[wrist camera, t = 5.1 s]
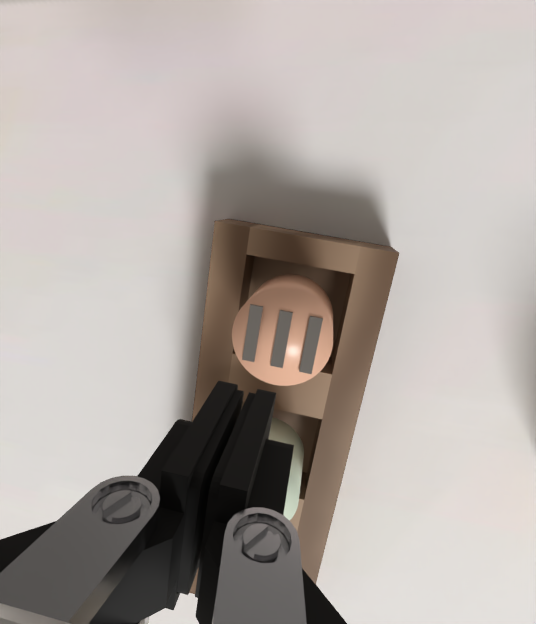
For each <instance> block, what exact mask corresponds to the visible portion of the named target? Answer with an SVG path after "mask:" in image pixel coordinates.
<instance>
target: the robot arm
mask: <svg viewBox="0 0 536 624" xmlns="http://www.w3.org/2000/svg"><path fill="white" fill-rule="evenodd" d="M243 396H244V391H241V390H238V385H237V384H233V383H228V382H223V381H218V382H217V383H216V385H215V387H214V388H213V390H212V391H211V393H210V395H209V396H208V398H207V399H206V401H205V402H204V404H203V406H202V407H201V409H200V410H199V412H198V414H197V415H196V417H195V418H194V420H193V421H192V422H190V421H186V420H181V419H179V420H177V421H176V422H175V424H174V425H173V427H172V428H171V429H170V431H169V432H168V434H167V435H166V437H165V438H164V439H163V441H162V442H161V444H160V445H159V446H158V448H157V449H156V451H155V452H154V454H153V455H152V456H151V458H150V459H149V461H148V462H147V463H146V465H145V466H144V468H143V469H142V471H141V472H140V473H139V475H138V476H119V477H114V478H110V479H108V480H106V481H103V482H101V483H100V484H98V485H97V486H95V487H94V488H93V489H91V490H90V491H89V492H88V493H87V494H86V495H85V496H84V497H83V498H82V499H80V500H79V501H78V502H77V503H76V504H75V505H74V506H73V507H72V508H71V509H69V510H68V511H67V512H66V513H65V514H64V515H63V516H62V517H61V518H60V519H59V520H57V521H55V522H52V523H49V524H46V525H43V526H40V527H37V528H34V529H31V530H28V531H25V532H22V533H19V534H16V535H13V536H10V537H7V538H4V539H1V540H0V624H148V622H149V616H151V615H153V614H155V613H156V612H158V611H160V610H162V609H164V608H168V609H171V610H174V608H175V605H176V602H177V600H178V597H179V595H180V593H183V594H186V595H188V594H189V592H190V589H191V587H192V584H193V581H194V578H195V576H196V573H197V570H198V576H197V584H196V591H195V597H197V598H198V603H197V610H196V618H197V620H198V622H199V624H347V623H346V622H345V621H344V619H343V618H342V617H341V616H340V614H339V613H338V612H337V611H336V609H335V608H334V607H333V606H332V604H331V603H330V602H329V601H328V599H327V598H326V597H325V596H324V594H323V593H322V592H321V591H320V589H319V588H318V587H317V586H316V584H315V583H314V582H313V581H312V580H311V578H310V577H309V576H308V575H307V573H306V572H305V571H304V570H303V568H302V563H301V551H300V540H299V537H298V533H297V530H296V529H295V527H294V526H293V524H292V523H291V522H290V521H289V520H288V519H287V518H286V517H285V516H284V508H285V502H286V495H287V488H288V482H289V475H290V469H291V462H292V456H293V449H294V445H292V444H287V443H283V442H278V441H274V440H270V439H269V433H270V427H271V422H272V416H273V411H274V405H275V399H276V393H275V392H270V391H265V390H261V389H257V391H256V394H255V393H250V392H249V394H248V396H247V398H246V400H245V403H244V405H243V407H242V402H243ZM241 409H242V410H241ZM198 567H199V569H198Z"/></svg>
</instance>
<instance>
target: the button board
mask: <svg viewBox="0 0 536 624" xmlns="http://www.w3.org/2000/svg"><path fill="white" fill-rule="evenodd" d="M398 256H399V253H398V252H397V251H396V250H395V249H393V248H392V247H389V246H383V245H377V244H371V243H365V242H360V241H354V240H348V239H342V238H336V237H331V236H325V235H319V234H313V233H307V232H302V231H296V230H290V229H284V228H278V227H273V226H267V225H261V224H255V223H249V222H244V221H238V220H232V219H225V220H218V221H215V224H214V233H213V241H212V250H211V259H210V268H209V276H208V285H207V294H206V303H205V311H204V320H203V329H202V338H201V346H200V355H199V364H198V373H197V381H196V390H195V399H194V408H193V416H192V421H193V420H194V418H195V417H196V415H197V414H198V412H199V410H200V409H201V407H202V406H203V404H204V402H205V401H206V399H207V398H208V396H209V395H210V393H211V391H212V390H213V388H214V387H215V385H216V383H217V382H218V381H223V382H228V383H233V384H237V385H238V390H241V391H244V396H243V402H242V407H243V405H244V403H245V400H246V398H247V396H248V394H249V392H250V393H255V394H256V391H257V389H261V390H265V391H270V392H275V393H276V399H275V405H274V411H273V416H272V417H273V418H277V419H279V420H282V421H284V422H285V423H287V424H288V425H290V426H291V427H292V428H293V429H294V430H295V431H296V432H297V434H298V435H299V437H300V439H301V441H302V443H303V447H304V459H303V468H302V477H301V485H300V494H299V502H298V507H297V510H296V512H295V514H294V516H293V517H292V519H291V520H290V522H291V523H292V524H293V526H294V527H295V529H296V530H297V533H298V537H299V540H300V551H301V563H302V568H303V570H304V571H305V572H306V573H307V575H308V576H309V577H310V578H311V580H312V581H313V582H314V583H315V584H316V581H317V577H318V573H319V569H320V565H321V561H322V557H323V553H324V549H325V545H326V541H327V537H328V533H329V529H330V525H331V521H332V518H333V514H334V510H335V506H336V502H337V498H338V494H339V490H340V486H341V482H342V478H343V474H344V470H345V466H346V462H347V458H348V454H349V450H350V446H351V442H352V438H353V434H354V430H355V426H356V422H357V418H358V415H359V411H360V407H361V403H362V399H363V395H364V391H365V387H366V383H367V379H368V375H369V371H370V367H371V363H372V359H373V355H374V351H375V347H376V343H377V339H378V335H379V331H380V327H381V323H382V319H383V315H384V312H385V308H386V304H387V300H388V296H389V292H390V288H391V284H392V280H393V276H394V272H395V268H396V264H397V260H398ZM285 274H295V275H300V276H304V277H307V278H309V279H311V280H313V281H314V282H316V283H317V284H318V285H319V286H320V287H321V288H322V289H323V290H324V291H325V292H326V294H327V296H328V297H329V299H330V302H331V305H332V309H333V347H332V352H331V355H330V357H329V360H328V362H327V363H326V365H325V366H324V368H323V369H322V370H321V371H320V372H319V373H318V374H317V375H316V376H314V377H313V378H311V379H309V380H307V381H306V382H303V383H300V384H296V385H290V386H279V385H273V384H269V383H266V382H264V381H261V380H260V379H258V378H256V377H255V376H253V375H252V374H251V373H249V372H248V371H247V370H246V369H245V368H244V366H243V365H242V364H241V362H240V361H239V359H238V357H237V355H236V353H235V350H234V347H233V342H232V328H233V324H234V321H235V318H236V316H237V314H238V312H239V310H240V309H241V308H242V306H243V305H244V304H245V303H246V302H247V301H248V299H249V298H250V297H251V296H252V295H253V294H254V293H255V291H256V290H257V289H258V288H259V287H260V286H261V285H262V284H263V283H265V282H266V281H267V280H269V279H271V278H273V277H276V276H279V275H285ZM241 410H242V409H241ZM198 569H199V567H198ZM197 576H198V570H197V573H196V576H195V578H194V581H193V584H192V587H191V589H190V592H189V593H193V594H195V591H196V584H197Z"/></svg>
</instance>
